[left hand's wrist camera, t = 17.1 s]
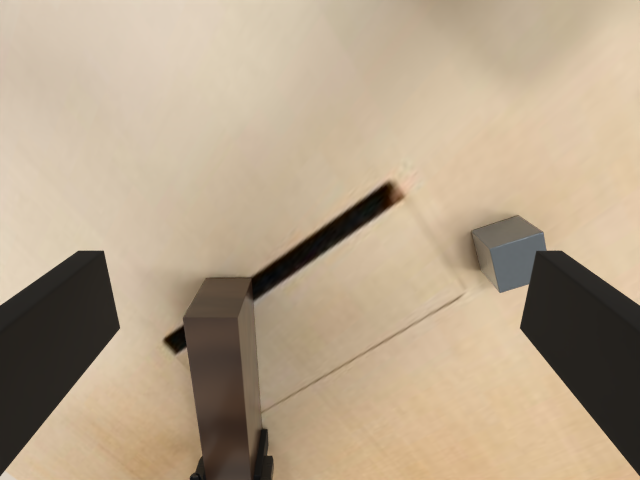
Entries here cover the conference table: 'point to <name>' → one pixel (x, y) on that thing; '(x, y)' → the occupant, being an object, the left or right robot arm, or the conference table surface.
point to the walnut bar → (225, 376)
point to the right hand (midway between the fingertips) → (242, 437)
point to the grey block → (508, 251)
